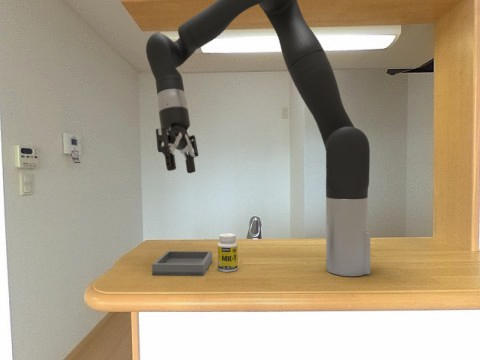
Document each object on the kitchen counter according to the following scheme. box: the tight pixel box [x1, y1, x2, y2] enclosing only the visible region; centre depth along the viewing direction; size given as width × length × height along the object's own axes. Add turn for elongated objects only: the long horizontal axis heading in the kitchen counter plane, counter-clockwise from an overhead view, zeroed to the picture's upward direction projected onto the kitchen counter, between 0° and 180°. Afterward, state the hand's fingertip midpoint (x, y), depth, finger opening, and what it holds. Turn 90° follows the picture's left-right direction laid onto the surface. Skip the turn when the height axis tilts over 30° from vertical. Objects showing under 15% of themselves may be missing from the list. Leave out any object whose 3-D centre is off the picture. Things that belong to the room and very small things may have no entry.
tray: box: [151, 250, 213, 277], centre depth 83 cm, size 12×12×2 cm
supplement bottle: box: [217, 232, 239, 273], centre depth 81 cm, size 5×5×8 cm
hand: (182, 171), depth 85 cm, fingers open, 8 cm apart
